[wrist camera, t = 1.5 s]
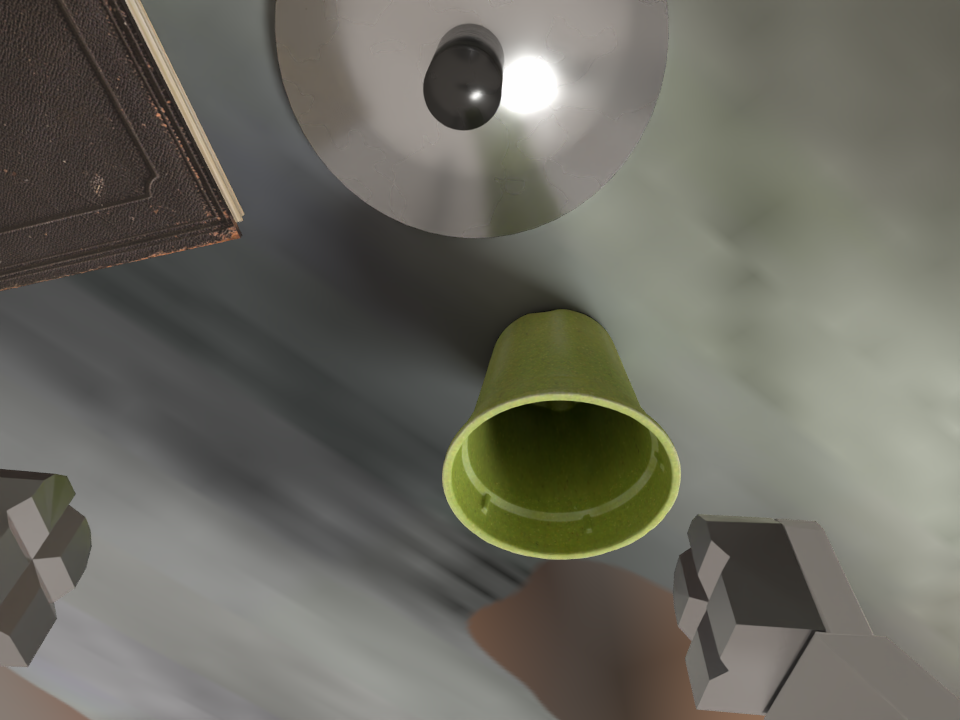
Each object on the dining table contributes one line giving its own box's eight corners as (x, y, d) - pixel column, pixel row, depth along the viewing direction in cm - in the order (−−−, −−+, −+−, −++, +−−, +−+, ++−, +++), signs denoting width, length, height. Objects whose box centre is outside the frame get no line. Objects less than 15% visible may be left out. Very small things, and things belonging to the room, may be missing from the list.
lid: (700, -184, 22) (737, -191, 18) (635, 234, 31) (651, 290, 27) (247, -188, 23) (190, -195, 19) (309, 225, 31) (279, 278, 27)
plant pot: (526, 239, 31) (524, 354, 24) (691, 335, 33) (732, 464, 26) (427, 377, 36) (401, 505, 29) (576, 451, 38) (586, 586, 31)
